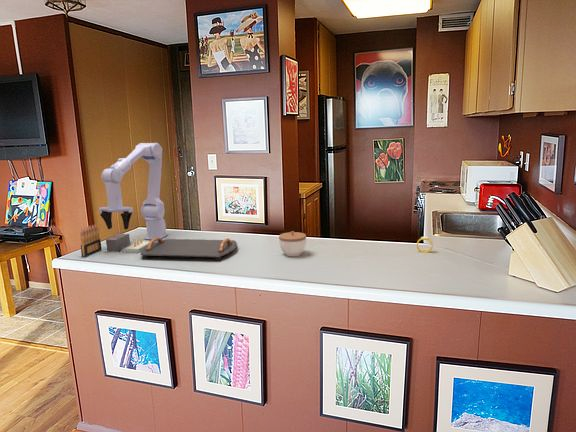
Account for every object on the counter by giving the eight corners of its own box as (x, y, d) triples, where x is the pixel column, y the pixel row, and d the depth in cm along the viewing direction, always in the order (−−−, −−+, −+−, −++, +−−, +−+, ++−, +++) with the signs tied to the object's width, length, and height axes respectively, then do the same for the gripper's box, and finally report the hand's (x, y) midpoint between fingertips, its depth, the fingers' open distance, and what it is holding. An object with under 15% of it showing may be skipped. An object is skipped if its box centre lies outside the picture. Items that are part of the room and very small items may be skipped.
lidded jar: (291, 260, 174) (290, 236, 172) (274, 254, 182) (273, 231, 180) (312, 254, 180) (311, 231, 178) (294, 248, 188) (294, 226, 186)
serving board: (133, 261, 181) (131, 246, 180) (159, 244, 203) (158, 231, 202) (226, 263, 174) (225, 248, 172) (243, 246, 196) (242, 232, 195)
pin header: (139, 244, 204) (138, 234, 203) (153, 244, 202) (152, 234, 201) (123, 252, 191) (122, 242, 190) (138, 253, 190) (137, 242, 189)
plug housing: (120, 244, 204) (118, 233, 203) (130, 244, 203) (129, 233, 202) (107, 250, 194) (105, 239, 193) (117, 251, 193) (116, 239, 192)
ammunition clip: (85, 257, 186) (81, 229, 184) (81, 257, 187) (77, 228, 184) (102, 250, 196) (98, 223, 194) (98, 249, 197) (94, 222, 194)
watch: (416, 253, 178) (415, 238, 177) (417, 251, 181) (416, 236, 180) (432, 253, 176) (432, 238, 175) (432, 251, 179) (432, 236, 178)
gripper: (93, 199, 187) (97, 230, 190) (125, 199, 185) (128, 231, 188) (102, 195, 194) (106, 226, 197) (134, 195, 191) (137, 227, 194)
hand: (118, 228), depth 193 cm, fingers open, 7 cm apart
